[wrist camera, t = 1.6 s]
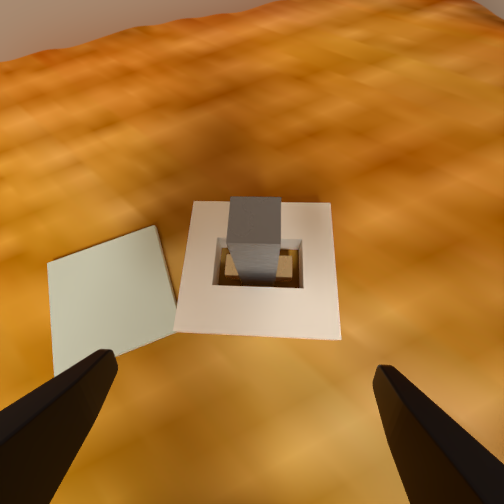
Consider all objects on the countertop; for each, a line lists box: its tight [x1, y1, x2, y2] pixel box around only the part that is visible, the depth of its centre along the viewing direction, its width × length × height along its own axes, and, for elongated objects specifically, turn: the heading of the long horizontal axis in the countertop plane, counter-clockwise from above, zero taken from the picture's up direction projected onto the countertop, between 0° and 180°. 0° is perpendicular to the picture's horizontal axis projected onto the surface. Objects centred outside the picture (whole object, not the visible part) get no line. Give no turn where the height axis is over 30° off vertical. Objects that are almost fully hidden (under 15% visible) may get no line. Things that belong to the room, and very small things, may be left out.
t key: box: [225, 197, 292, 286], centre depth 18 cm, size 3×6×10 cm, turn 87°
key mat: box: [47, 225, 177, 377], centre depth 22 cm, size 11×11×1 cm
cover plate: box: [173, 201, 341, 340], centre depth 22 cm, size 12×13×2 cm
